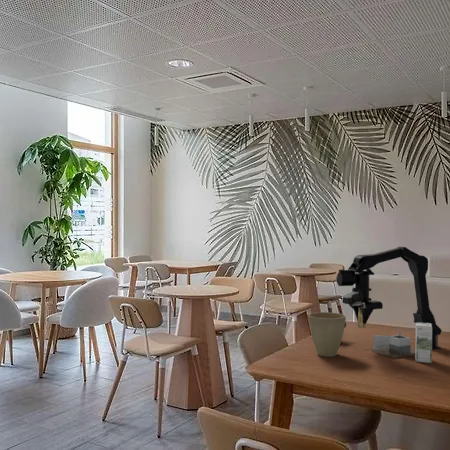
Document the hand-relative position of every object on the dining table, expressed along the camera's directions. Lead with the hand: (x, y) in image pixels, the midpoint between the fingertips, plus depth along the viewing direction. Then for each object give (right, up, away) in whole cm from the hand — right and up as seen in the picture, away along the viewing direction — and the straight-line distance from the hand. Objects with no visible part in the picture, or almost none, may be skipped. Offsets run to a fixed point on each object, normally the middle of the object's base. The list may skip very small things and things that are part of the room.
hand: (361, 323), depth 211 cm
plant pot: (-16, -12, -6) cm, 21 cm away
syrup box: (+20, -12, -16) cm, 28 cm away
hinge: (+13, -11, -4) cm, 18 cm away
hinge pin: (0, -2, 0) cm, 2 cm away
